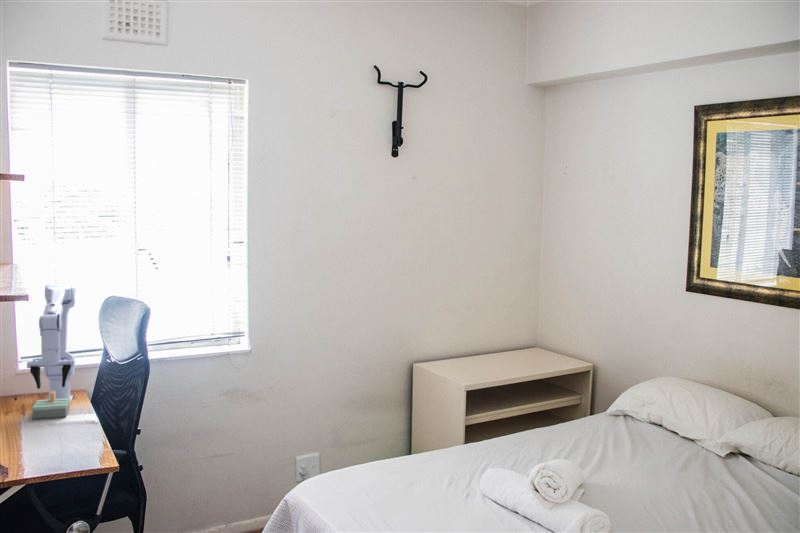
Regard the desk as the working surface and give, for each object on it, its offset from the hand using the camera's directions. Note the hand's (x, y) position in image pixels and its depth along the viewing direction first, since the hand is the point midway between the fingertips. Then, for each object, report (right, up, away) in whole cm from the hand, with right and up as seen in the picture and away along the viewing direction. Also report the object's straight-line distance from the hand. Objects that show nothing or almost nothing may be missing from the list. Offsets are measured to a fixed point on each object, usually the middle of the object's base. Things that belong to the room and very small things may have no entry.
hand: (51, 387), depth 229 cm
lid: (0, -7, +1) cm, 7 cm away
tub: (0, -10, +1) cm, 10 cm away
